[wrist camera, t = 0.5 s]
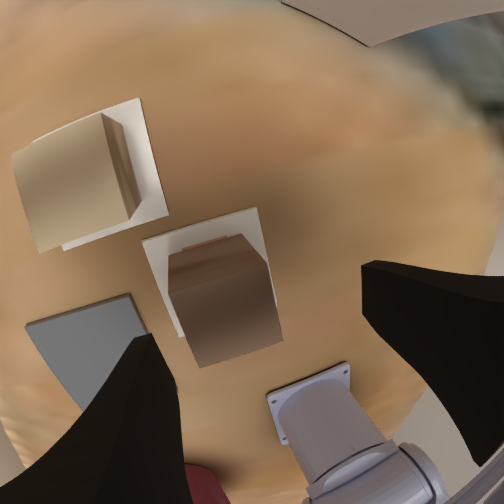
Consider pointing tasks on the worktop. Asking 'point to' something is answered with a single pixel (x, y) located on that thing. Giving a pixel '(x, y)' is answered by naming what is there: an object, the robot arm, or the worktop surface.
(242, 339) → the walnut block
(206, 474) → the plant pot
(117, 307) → the slate coaster
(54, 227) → the oak block
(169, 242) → the code tile
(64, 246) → the code tile
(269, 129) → the worktop surface
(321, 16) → the milk carton
